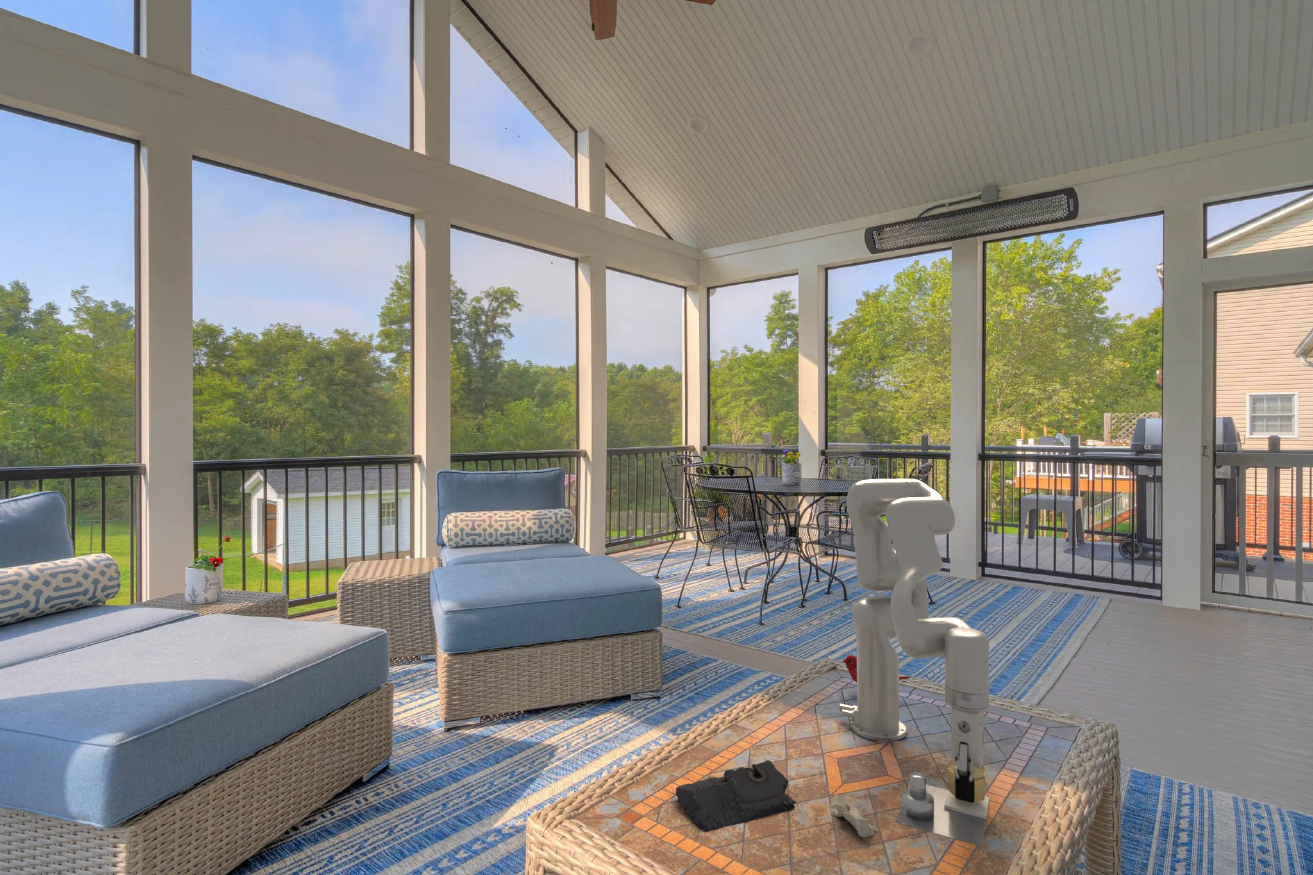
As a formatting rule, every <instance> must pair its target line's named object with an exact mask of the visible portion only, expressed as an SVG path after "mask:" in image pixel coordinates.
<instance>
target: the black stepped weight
mask: <svg viewBox="0 0 1313 875" xmlns="http://www.w3.org/2000/svg"><path fill="white" fill-rule="evenodd" d="M788 784H789V780H788V779H787V778H786V777H785V776H784V775H783V774H782V772H780V771H779V770H778V769H777V768H776V765H774V764H773V762H772V760H769V759H768V760H764V761H762V762H759V763H753V764H752V767H744V766H741V767H738V768H737V769H728V770H725V771H724V773H723V776H720V777H717V776H716V777H708V778H706V779H702V780H698V781H695V782H693V783H692V782H691V783H689V782H688V783H685V784H681V785H678V786H677V787H676V788H675V796H676V797H677V798H678V800H679V802H680V805H682V807H683V808H684V809H685V811H686V813H687V815H688V817H689V818H691V820H692V821H693V822H694V824H695V825H696V826H698V827H699V829H702V830H704V831H705V832H711V831H716V830H720V829H722V828H726V827H731V826H736V825H740V824H744V823H748V822H751V821H752V822H753V821H755V820H760V819H762V818H767V817H770V816H772V815H775V814H776V815H777V814H780V813H784V812H788V811H791V810H795V805H794V804H796V803H797V802H796V800H794V799H792V798H791V797H790V795H788V794H787V793H786V790H787V789H788Z"/></svg>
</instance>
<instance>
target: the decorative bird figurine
mask: <svg viewBox="0 0 1313 875" xmlns="http://www.w3.org/2000/svg"><path fill="white" fill-rule="evenodd" d="M841 663H844V664H845V667H846V668H847V670H848V673H849V675H850V677H851V679H852V680H853V681H854V682H855V683H856V684H857V656H856V655H853V654H849V655H847V656H846V657H845V659H844V660H842V661H841ZM910 678H911V676H906V675H905V676H904V675H903V676H902V675H901V676H900V675H899V681H901V680H907V679H910Z"/></svg>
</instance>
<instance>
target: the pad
mask: <svg viewBox="0 0 1313 875" xmlns="http://www.w3.org/2000/svg"><path fill="white" fill-rule="evenodd" d="M947 790H948V793H947V797H946V801H945V805H944V808H946V809H950V810H954V811H957V812H961V813H965V814H969V815H972V816H976V817H980V818H984V819H986V820H987V818H988V813H989V803H990V797H989V796H986V795H985V799H984V801H978V802H974V803H970V802H966V801H962V800H958V799H956V798H955V796H954V795H953V794H951V793H950V792H949V788H948V789H947Z"/></svg>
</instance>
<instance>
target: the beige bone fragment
mask: <svg viewBox="0 0 1313 875" xmlns="http://www.w3.org/2000/svg"><path fill="white" fill-rule="evenodd" d="M829 810H830V812H829V813H830V814H829V815H831V816H832V817H836V818H844V819H845V820H846V821H848V822H849V823H850V824H851V825H852V827H853V828H854V829H855V830H856V832H857V834H858V836H860V837H861V838H863V839H865V838H868V837H874V836H875V835H876V834H875V833H876V832H877V831H878V829H877V828H876V827H875V826H873V825H872V824H870V820H869V818H868V817H867V818H864V817H863V816H862V814H861V812H860V811H859V810H858V808H857V807H856V806H854V805H853V804H852V803H851V802H850V801H849V800H848V799H847V797H844V796H843V795H841V794H837V795H835V796H834V797H833V798H832V800H831V801H830V805H829Z"/></svg>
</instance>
